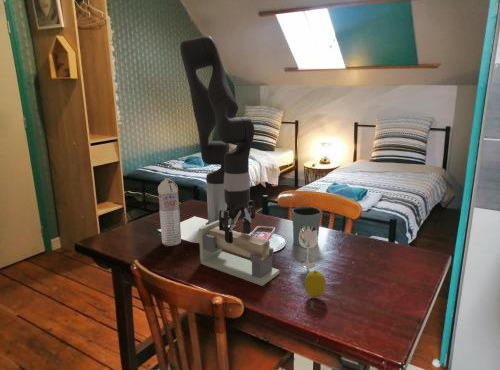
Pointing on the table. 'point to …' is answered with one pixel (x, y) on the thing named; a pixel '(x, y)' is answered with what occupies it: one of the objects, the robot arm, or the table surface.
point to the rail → (241, 243)
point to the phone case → (266, 227)
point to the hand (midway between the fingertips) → (238, 238)
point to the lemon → (315, 284)
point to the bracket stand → (234, 260)
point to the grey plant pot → (304, 220)
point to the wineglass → (308, 242)
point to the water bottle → (169, 212)
